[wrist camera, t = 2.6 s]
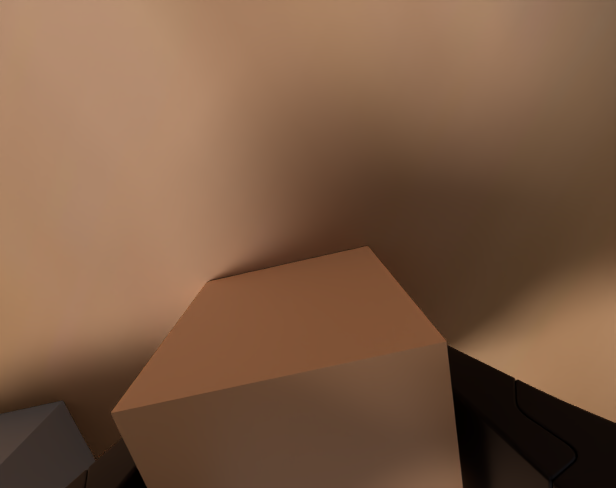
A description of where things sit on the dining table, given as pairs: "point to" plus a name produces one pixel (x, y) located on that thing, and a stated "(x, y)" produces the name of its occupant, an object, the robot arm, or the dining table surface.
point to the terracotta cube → (297, 385)
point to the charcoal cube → (41, 448)
